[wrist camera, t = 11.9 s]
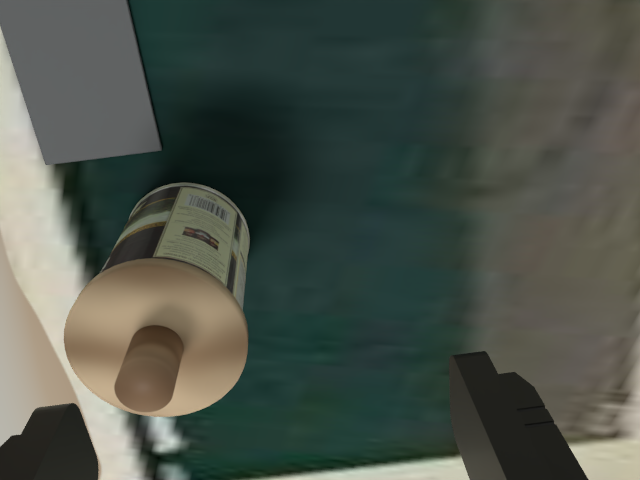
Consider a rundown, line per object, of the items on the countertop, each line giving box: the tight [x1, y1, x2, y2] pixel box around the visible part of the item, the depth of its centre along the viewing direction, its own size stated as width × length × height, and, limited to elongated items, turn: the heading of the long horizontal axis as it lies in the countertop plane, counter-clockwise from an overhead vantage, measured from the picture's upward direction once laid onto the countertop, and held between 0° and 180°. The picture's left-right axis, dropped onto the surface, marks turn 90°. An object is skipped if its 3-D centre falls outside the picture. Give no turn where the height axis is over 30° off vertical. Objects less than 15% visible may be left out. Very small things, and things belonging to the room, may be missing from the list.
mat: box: [0, 0, 162, 165], centre depth 44 cm, size 14×9×1 cm, turn 6°
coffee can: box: [100, 182, 250, 311], centre depth 44 cm, size 10×10×14 cm
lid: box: [64, 258, 248, 417], centre depth 36 cm, size 11×11×5 cm
